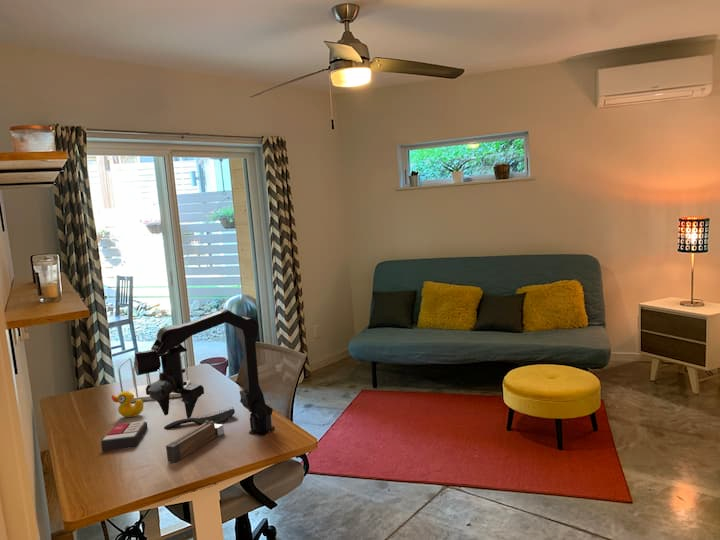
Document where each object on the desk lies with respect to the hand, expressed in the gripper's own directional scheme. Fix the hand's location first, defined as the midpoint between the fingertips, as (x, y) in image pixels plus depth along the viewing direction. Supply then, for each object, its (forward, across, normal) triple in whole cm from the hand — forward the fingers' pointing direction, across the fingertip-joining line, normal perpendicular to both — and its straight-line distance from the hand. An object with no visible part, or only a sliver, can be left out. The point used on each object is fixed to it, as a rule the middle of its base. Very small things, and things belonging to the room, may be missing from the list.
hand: (177, 416), depth 164 cm
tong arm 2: (+13, +1, +5) cm, 13 cm away
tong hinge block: (+13, 0, +16) cm, 21 cm away
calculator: (+14, -29, +4) cm, 32 cm away
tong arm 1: (+13, -1, +5) cm, 13 cm away
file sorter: (+13, -54, +43) cm, 71 cm away
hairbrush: (+14, -13, +23) cm, 29 cm away
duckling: (+13, -45, +20) cm, 51 cm away
